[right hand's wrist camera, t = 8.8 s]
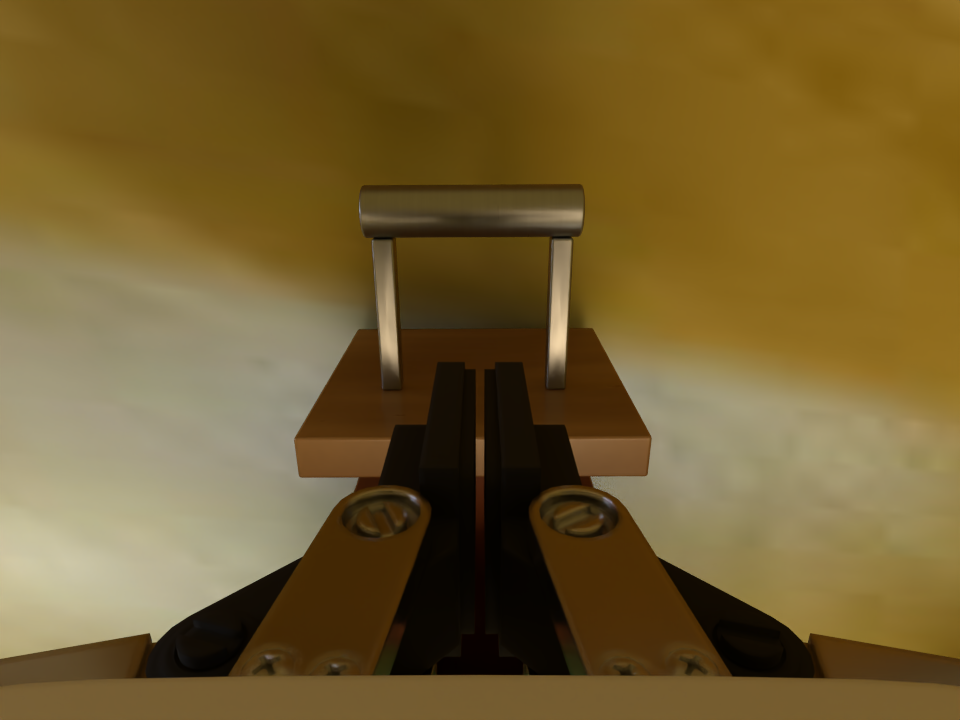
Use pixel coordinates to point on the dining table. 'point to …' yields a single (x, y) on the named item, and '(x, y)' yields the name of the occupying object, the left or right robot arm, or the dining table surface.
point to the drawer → (471, 362)
